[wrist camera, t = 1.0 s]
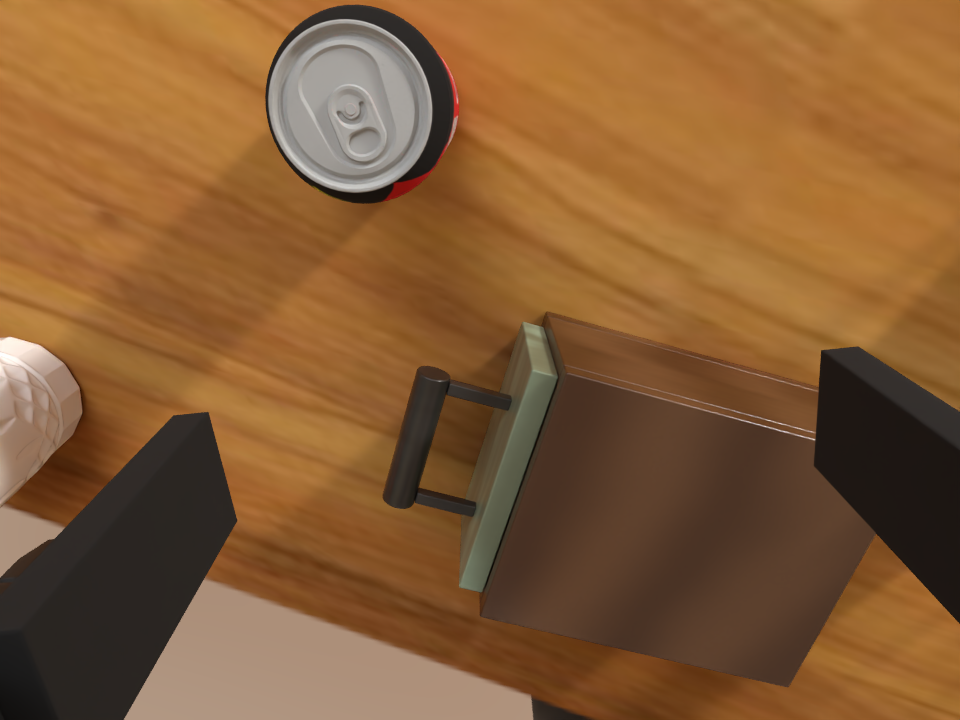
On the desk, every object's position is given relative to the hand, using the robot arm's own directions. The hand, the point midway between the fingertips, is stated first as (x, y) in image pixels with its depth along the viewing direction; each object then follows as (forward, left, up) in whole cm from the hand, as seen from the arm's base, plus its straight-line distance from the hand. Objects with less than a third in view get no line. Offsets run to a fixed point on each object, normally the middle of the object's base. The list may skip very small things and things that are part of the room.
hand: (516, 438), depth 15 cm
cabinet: (-9, -12, -22) cm, 26 cm away
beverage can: (+5, +6, -22) cm, 23 cm away
